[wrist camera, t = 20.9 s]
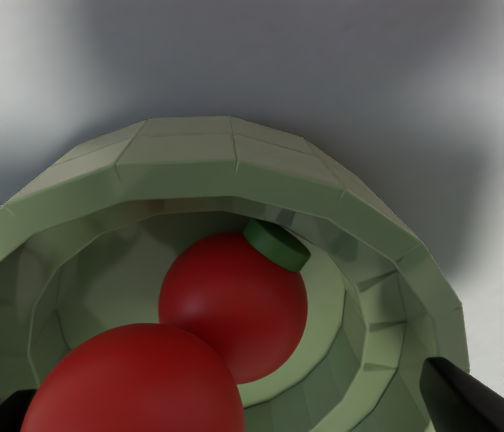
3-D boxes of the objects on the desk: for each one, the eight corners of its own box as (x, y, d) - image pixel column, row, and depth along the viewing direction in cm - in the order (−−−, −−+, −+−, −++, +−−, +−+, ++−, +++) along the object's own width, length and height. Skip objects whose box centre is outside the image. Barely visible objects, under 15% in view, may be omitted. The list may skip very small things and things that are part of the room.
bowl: (53, 447, 18) (-2, 590, 13) (-61, 120, 11) (-242, 176, 7) (370, 419, 19) (419, 542, 14) (421, 105, 12) (539, 146, 8)
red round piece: (169, 433, 9) (287, 269, 8) (108, 305, 12) (191, 174, 11) (278, 412, 12) (371, 292, 11) (210, 316, 15) (280, 214, 14)
